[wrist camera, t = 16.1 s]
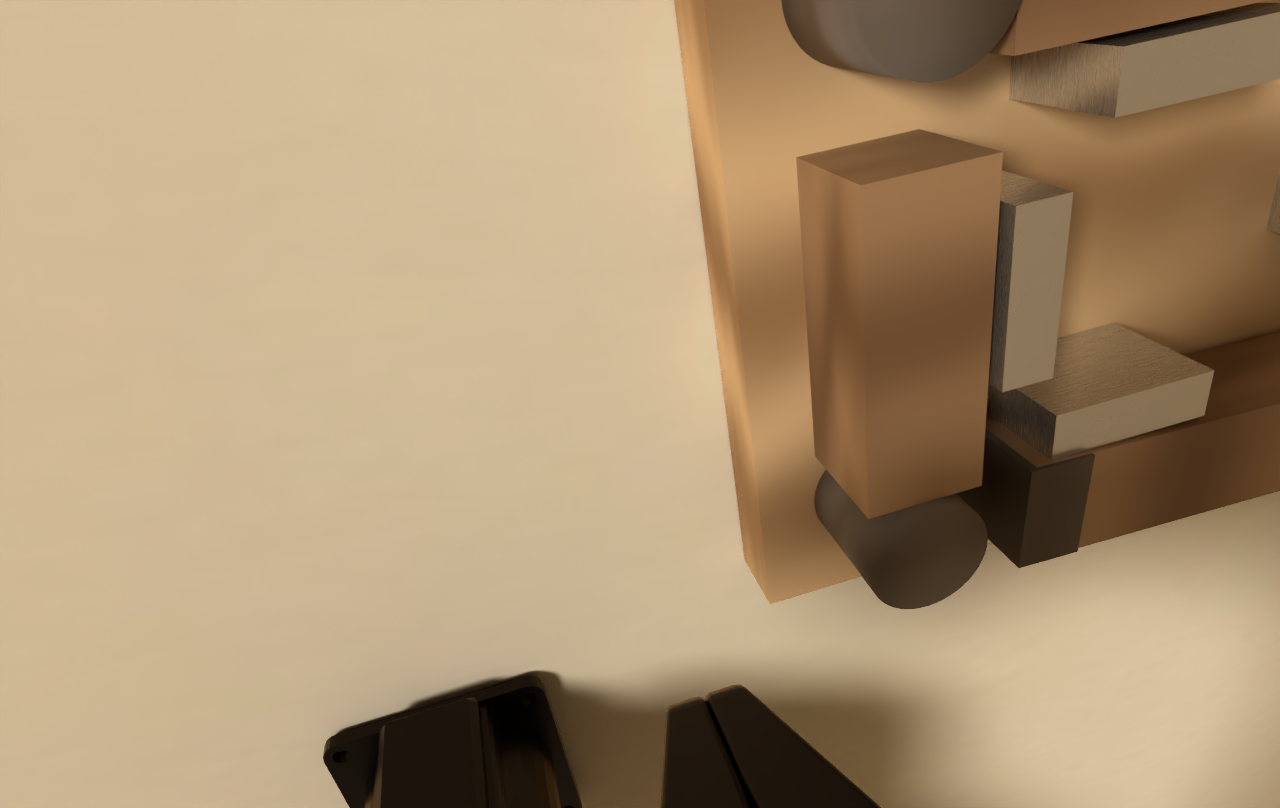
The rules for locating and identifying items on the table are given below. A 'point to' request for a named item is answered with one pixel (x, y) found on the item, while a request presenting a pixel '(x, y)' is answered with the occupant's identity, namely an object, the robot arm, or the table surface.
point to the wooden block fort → (935, 253)
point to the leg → (1138, 466)
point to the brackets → (1039, 229)
